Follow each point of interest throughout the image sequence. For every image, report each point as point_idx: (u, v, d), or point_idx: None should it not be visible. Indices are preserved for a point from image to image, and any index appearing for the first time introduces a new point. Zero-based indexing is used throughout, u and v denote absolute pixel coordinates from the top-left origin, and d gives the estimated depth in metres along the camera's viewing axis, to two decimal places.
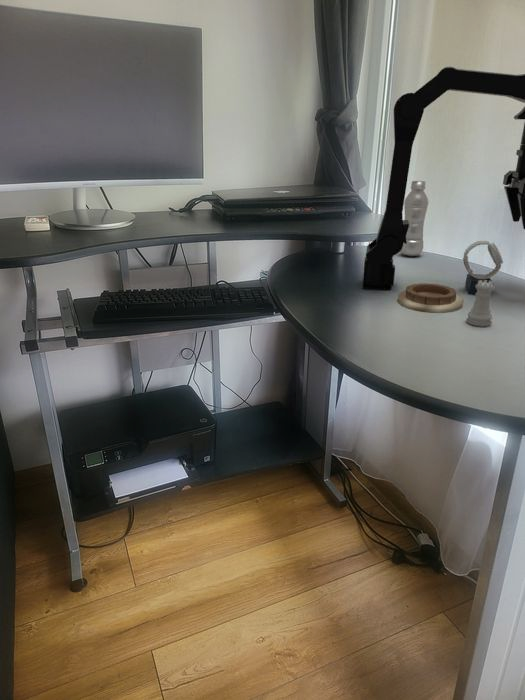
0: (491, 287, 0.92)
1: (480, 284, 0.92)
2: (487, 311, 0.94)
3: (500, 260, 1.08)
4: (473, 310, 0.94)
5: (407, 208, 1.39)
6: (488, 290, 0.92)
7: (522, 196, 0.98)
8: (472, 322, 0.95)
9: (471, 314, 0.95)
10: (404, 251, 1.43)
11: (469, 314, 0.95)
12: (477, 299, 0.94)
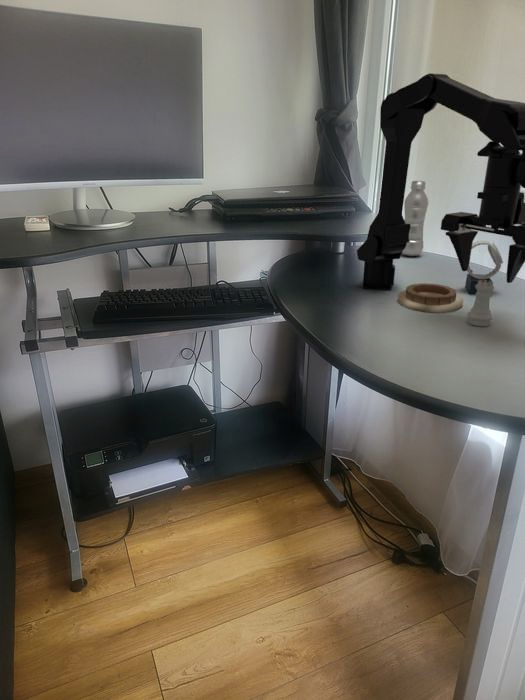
0: (491, 287, 0.92)
1: (480, 284, 0.92)
2: (487, 311, 0.94)
3: (500, 260, 1.08)
4: (473, 310, 0.94)
5: (407, 208, 1.39)
6: (488, 290, 0.92)
7: None
8: (472, 322, 0.95)
9: (471, 314, 0.95)
10: (404, 251, 1.43)
11: (469, 314, 0.95)
12: (477, 299, 0.94)
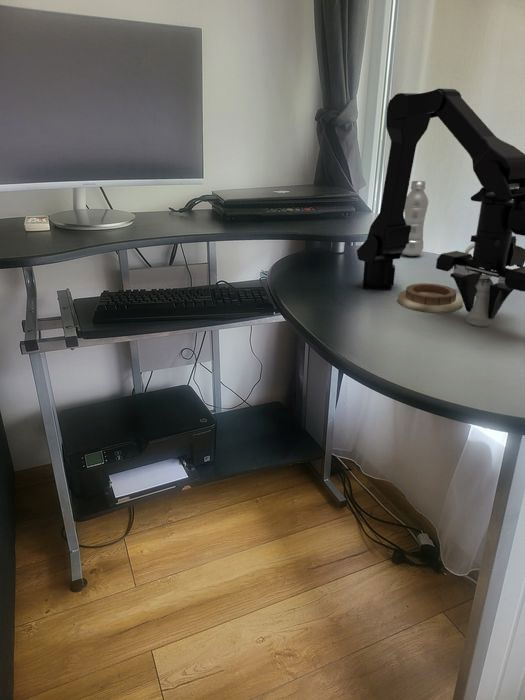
0: None
1: (480, 284, 0.92)
2: (487, 311, 0.94)
3: None
4: (473, 310, 0.94)
5: (407, 208, 1.39)
6: (488, 290, 0.92)
7: (505, 289, 0.87)
8: (472, 322, 0.95)
9: (471, 314, 0.95)
10: (404, 251, 1.43)
11: (469, 314, 0.95)
12: (477, 299, 0.94)
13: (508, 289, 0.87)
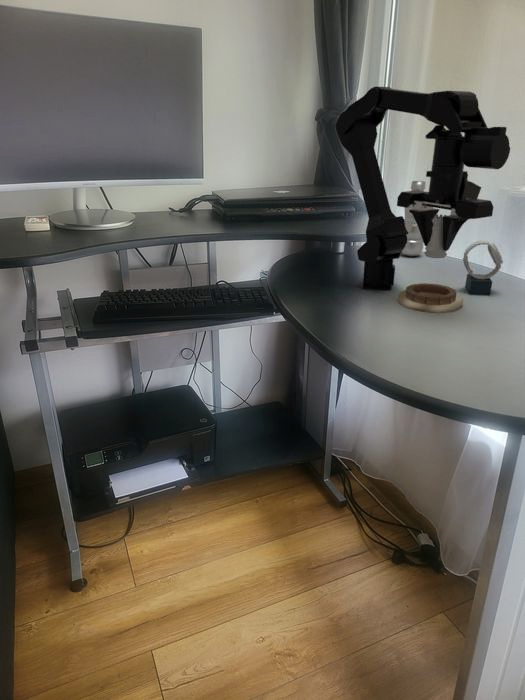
0: None
1: (435, 217, 1.00)
2: (442, 243, 1.01)
3: (500, 260, 1.08)
4: (430, 243, 1.02)
5: (407, 208, 1.39)
6: (442, 223, 0.99)
7: (456, 219, 0.94)
8: (429, 254, 1.02)
9: (428, 247, 1.02)
10: (404, 251, 1.43)
11: (426, 247, 1.03)
12: (433, 232, 1.01)
13: (459, 219, 0.94)
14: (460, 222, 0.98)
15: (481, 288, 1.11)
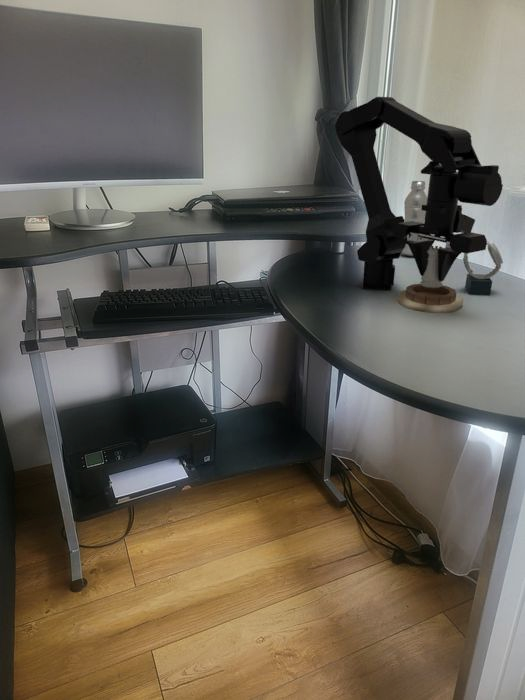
0: None
1: (431, 249, 1.02)
2: None
3: (500, 260, 1.08)
4: (425, 273, 1.05)
5: (407, 208, 1.39)
6: (437, 254, 1.02)
7: (450, 252, 0.97)
8: (424, 284, 1.05)
9: (424, 277, 1.05)
10: (404, 251, 1.43)
11: (422, 277, 1.05)
12: (429, 263, 1.04)
13: (453, 252, 0.97)
14: (455, 254, 1.00)
15: (481, 288, 1.11)
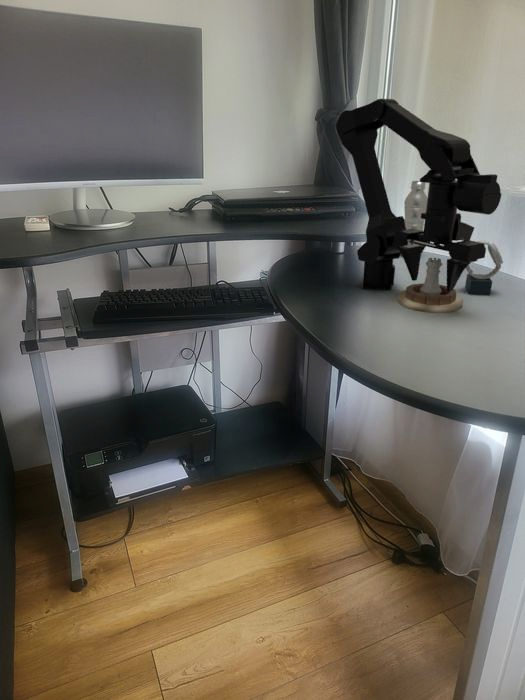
0: (439, 263, 1.03)
1: (429, 261, 1.03)
2: (436, 285, 1.05)
3: (500, 260, 1.08)
4: (424, 285, 1.05)
5: (407, 208, 1.39)
6: (436, 266, 1.03)
7: (459, 263, 0.96)
8: None
9: (423, 288, 1.06)
10: None
11: (421, 289, 1.06)
12: (427, 275, 1.05)
13: (462, 262, 0.96)
14: (464, 264, 0.99)
15: (481, 288, 1.11)
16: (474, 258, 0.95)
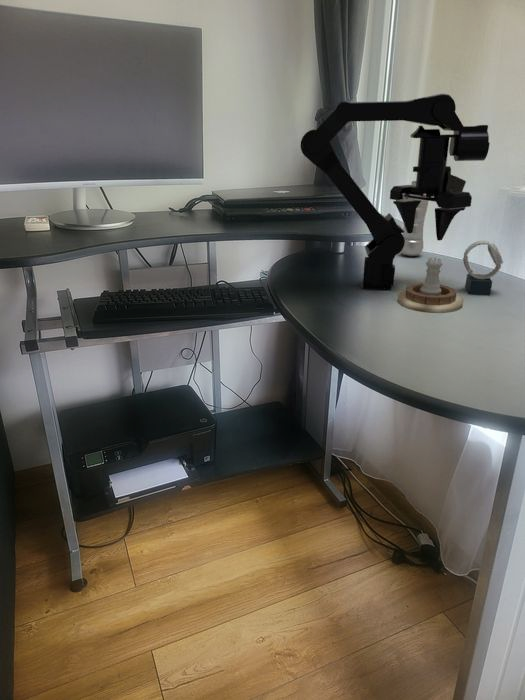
0: (439, 264, 1.03)
1: (429, 261, 1.03)
2: (436, 285, 1.05)
3: (500, 260, 1.08)
4: (424, 285, 1.05)
5: None
6: (436, 266, 1.03)
7: (445, 210, 1.03)
8: None
9: (423, 288, 1.06)
10: (404, 251, 1.43)
11: (421, 289, 1.06)
12: (427, 275, 1.05)
13: (448, 210, 1.03)
14: (452, 214, 1.06)
15: (481, 288, 1.11)
16: (459, 206, 1.02)
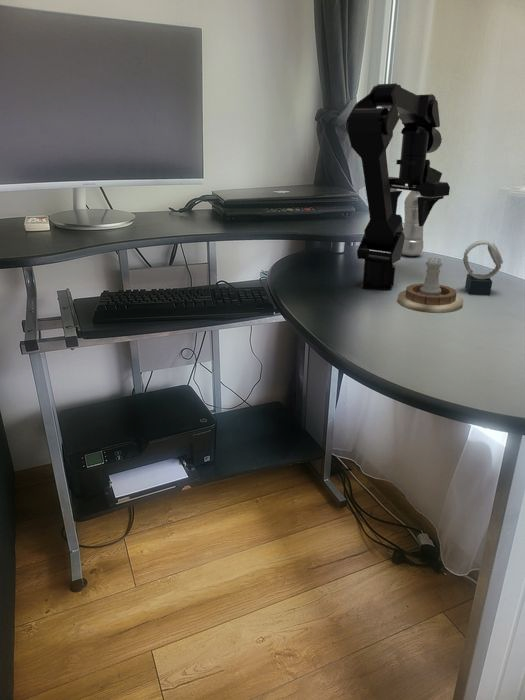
0: (439, 263, 1.03)
1: (429, 261, 1.03)
2: (436, 285, 1.05)
3: (500, 260, 1.08)
4: (424, 285, 1.05)
5: (407, 208, 1.39)
6: (436, 266, 1.03)
7: (427, 199, 1.15)
8: None
9: (422, 288, 1.06)
10: (404, 251, 1.43)
11: (421, 289, 1.06)
12: (427, 275, 1.05)
13: (430, 199, 1.15)
14: (432, 202, 1.18)
15: (481, 288, 1.11)
16: (440, 195, 1.14)
